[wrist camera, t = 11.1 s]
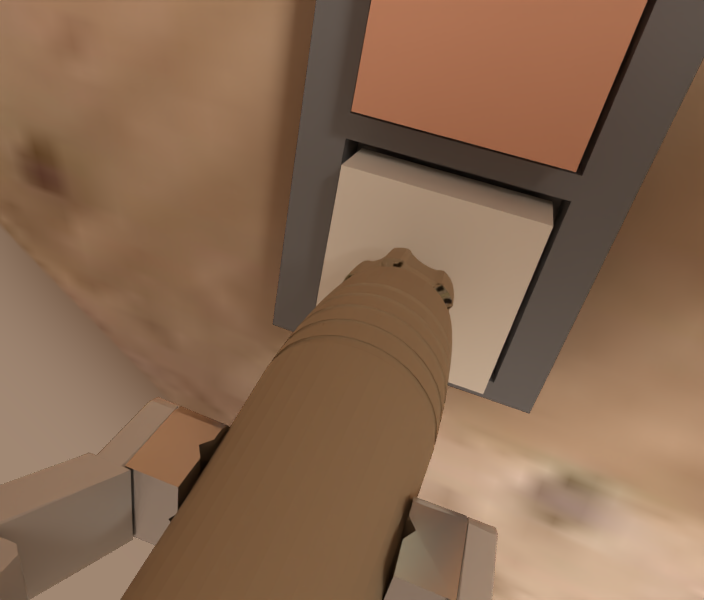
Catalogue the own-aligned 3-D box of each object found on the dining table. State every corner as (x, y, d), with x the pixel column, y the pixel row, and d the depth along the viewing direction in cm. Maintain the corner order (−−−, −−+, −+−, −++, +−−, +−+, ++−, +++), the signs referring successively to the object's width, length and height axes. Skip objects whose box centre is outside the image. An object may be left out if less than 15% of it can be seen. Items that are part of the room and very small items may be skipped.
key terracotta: (422, -155, 14) (403, -177, 12) (678, -108, 13) (699, -125, 11) (371, 99, 18) (351, 111, 16) (572, 152, 16) (576, 172, 15)
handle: (428, 163, 15) (-306, 1209, 2) (523, 356, 16) (448, 1524, 4) (288, 231, 17) (-468, 926, 4) (385, 394, 19) (58, 1209, 6)
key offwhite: (361, 148, 18) (341, 164, 17) (552, 201, 17) (553, 226, 16) (330, 305, 22) (310, 334, 20) (488, 358, 21) (483, 394, 19)
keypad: (458, -725, 11) (436, -898, 9) (1041, -720, 9) (1188, -932, 7) (297, 295, 24) (272, 324, 22) (531, 373, 23) (529, 413, 20)
